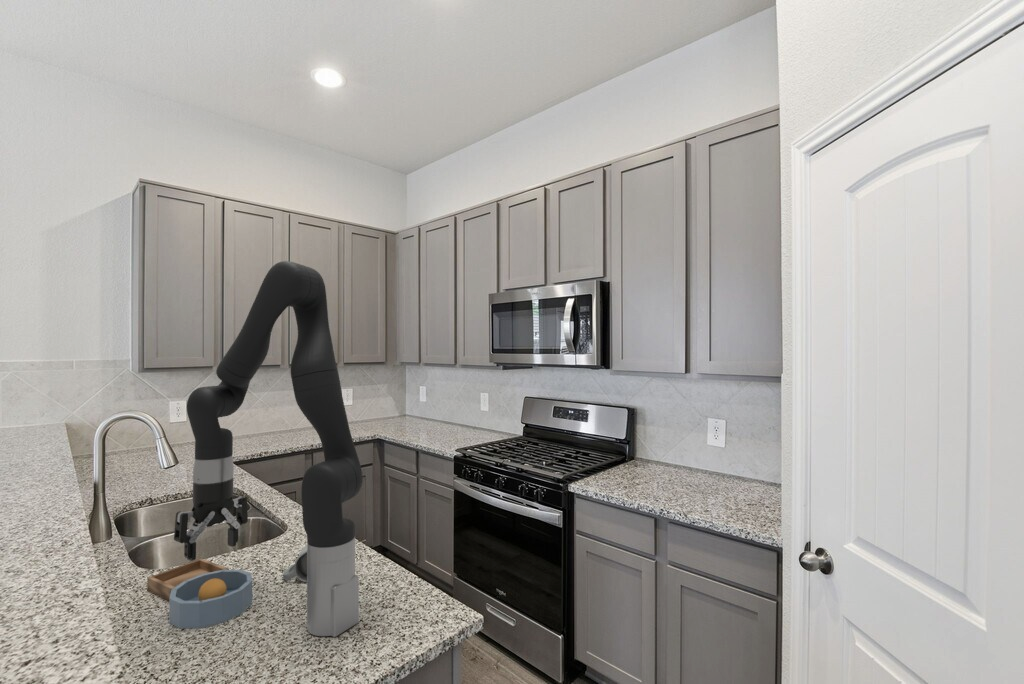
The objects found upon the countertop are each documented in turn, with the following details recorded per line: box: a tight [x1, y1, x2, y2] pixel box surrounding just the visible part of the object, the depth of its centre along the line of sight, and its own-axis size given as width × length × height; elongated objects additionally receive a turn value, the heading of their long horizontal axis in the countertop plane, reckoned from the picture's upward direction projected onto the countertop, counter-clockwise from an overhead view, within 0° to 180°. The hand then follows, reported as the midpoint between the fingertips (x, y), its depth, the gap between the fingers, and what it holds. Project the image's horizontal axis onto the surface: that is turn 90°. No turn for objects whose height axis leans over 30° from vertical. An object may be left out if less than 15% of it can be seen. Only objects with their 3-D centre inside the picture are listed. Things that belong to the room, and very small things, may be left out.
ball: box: [198, 578, 226, 601], centre depth 105 cm, size 5×5×5 cm
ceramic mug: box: [282, 544, 307, 583], centre depth 120 cm, size 11×8×8 cm
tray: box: [146, 558, 230, 602], centre depth 115 cm, size 12×12×3 cm
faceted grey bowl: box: [168, 569, 253, 629], centre depth 105 cm, size 15×15×5 cm
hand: (212, 552), depth 105 cm, fingers open, 8 cm apart
